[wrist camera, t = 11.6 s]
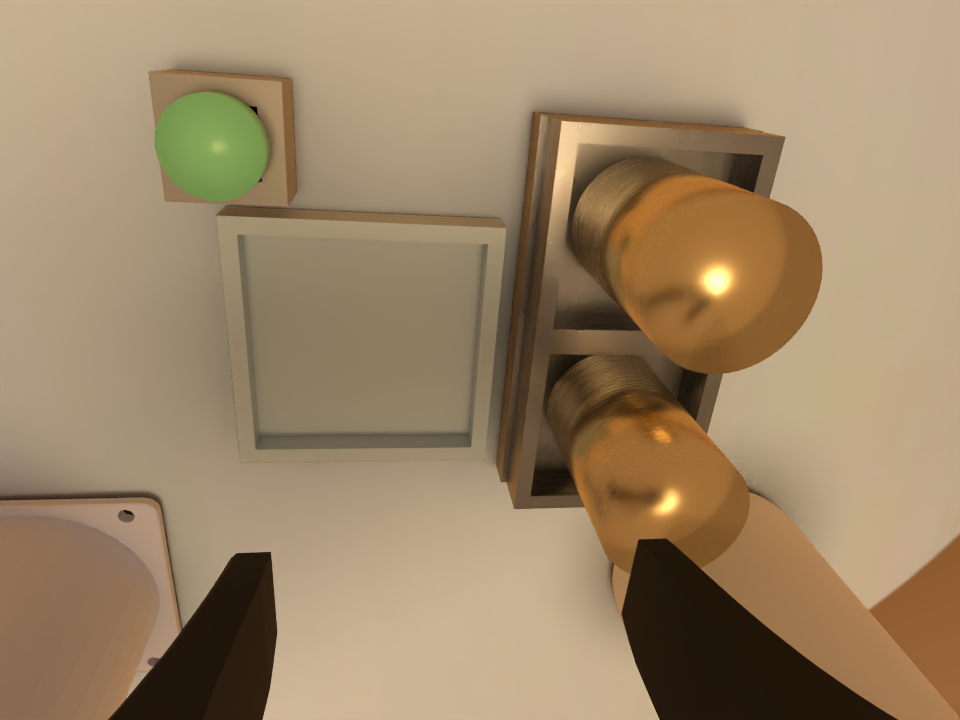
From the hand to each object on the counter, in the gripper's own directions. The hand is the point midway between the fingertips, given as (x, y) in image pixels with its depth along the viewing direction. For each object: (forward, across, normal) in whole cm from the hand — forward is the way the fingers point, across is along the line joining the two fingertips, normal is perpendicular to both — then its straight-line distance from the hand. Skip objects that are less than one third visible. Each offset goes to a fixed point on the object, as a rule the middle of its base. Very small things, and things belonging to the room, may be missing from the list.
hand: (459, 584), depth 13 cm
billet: (+9, -6, -5) cm, 12 cm away
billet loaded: (+9, -6, +1) cm, 11 cm away
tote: (+10, +2, -1) cm, 10 cm away
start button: (+10, +6, -7) cm, 13 cm away
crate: (+10, -6, -2) cm, 12 cm away
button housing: (+10, +6, -7) cm, 13 cm away
